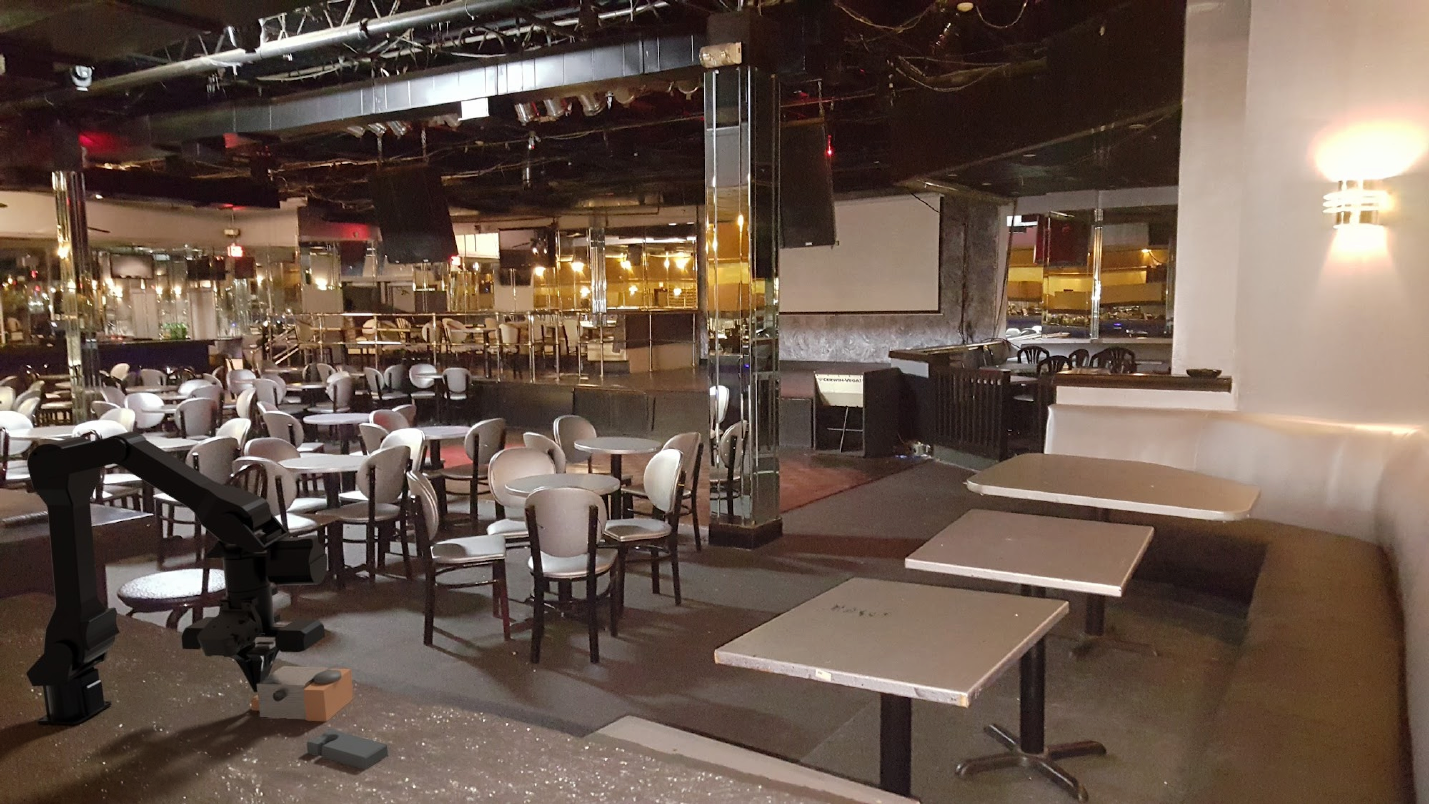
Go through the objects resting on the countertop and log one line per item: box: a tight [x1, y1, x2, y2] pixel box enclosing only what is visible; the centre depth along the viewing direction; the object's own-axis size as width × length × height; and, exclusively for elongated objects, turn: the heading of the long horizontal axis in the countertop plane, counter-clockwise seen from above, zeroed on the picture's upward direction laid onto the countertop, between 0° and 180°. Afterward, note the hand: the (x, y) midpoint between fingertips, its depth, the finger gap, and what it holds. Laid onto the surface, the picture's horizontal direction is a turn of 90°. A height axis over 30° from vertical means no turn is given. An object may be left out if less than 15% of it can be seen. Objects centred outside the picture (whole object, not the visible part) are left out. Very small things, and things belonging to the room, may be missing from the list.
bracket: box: [306, 728, 389, 770], centre depth 116 cm, size 4×10×2 cm, turn 63°
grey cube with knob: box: [256, 665, 329, 720], centre depth 129 cm, size 7×7×5 cm
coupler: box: [250, 668, 354, 722], centre depth 129 cm, size 13×7×5 cm, turn 82°
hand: (258, 691), depth 130 cm, fingers closed
